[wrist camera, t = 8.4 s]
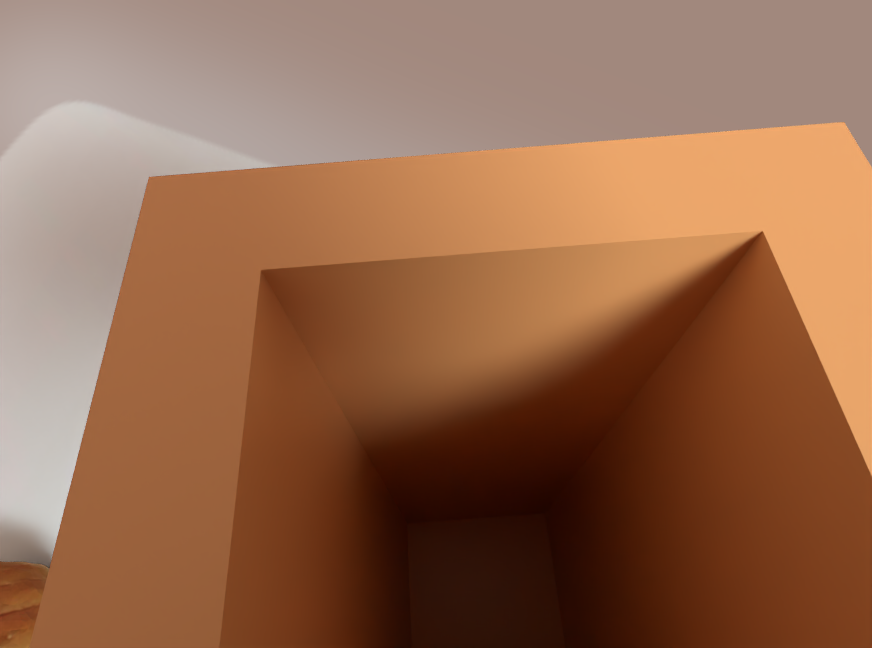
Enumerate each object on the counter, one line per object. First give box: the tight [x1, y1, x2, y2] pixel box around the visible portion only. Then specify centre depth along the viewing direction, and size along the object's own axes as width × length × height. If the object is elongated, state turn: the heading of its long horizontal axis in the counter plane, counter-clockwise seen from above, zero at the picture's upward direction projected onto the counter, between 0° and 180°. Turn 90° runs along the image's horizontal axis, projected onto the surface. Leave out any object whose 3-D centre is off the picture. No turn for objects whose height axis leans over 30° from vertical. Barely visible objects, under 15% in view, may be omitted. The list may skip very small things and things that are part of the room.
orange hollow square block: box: [29, 122, 872, 648], centre depth 9 cm, size 6×6×12 cm
